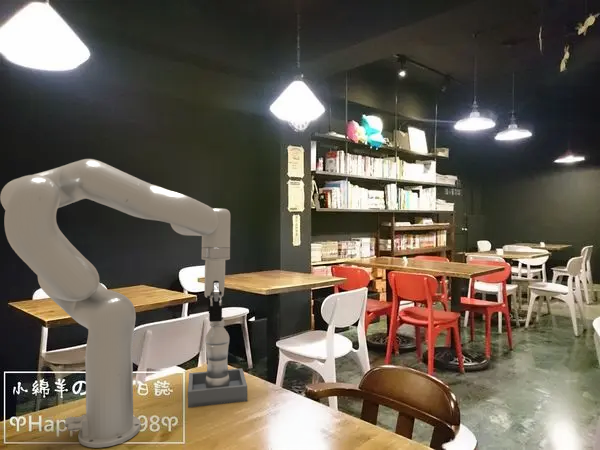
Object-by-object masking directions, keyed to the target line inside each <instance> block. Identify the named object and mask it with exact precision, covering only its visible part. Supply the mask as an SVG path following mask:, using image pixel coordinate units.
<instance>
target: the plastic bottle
mask: <svg viewBox="0 0 600 450" xmlns="http://www.w3.org/2000/svg"><path fill="white" fill-rule="evenodd" d="M209 322H210V321H209ZM209 326H210V329H209V330H208V331H207V333H206V335H205V339H204V341H205V348H206V358H207V366H206V368H207V369H206V372H207V375H206V381H205V386H206V389H207V388H217V387H227V386H229V384H230V379H229V374H228V370H229V366H228V364H229V363H228V355H229V345H230V335H229V333H228V331H227V330H226V328H225V327H224V326H225V318H224V317H223V316H222V321H215V322H210V323H209Z"/></svg>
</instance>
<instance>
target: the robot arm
mask: <svg viewBox="0 0 600 450" xmlns="http://www.w3.org/2000/svg"><path fill="white" fill-rule="evenodd" d="M85 199H87V200H90V201H92V202H93V201H94V202H95V203H97V204H101V205H104V206H107V207H109V208H112V209H114V210H117V211H119V212H121V213H124V214H127V215H129V216H131V217H134V218H139V219H144V220H150V221H159V222H164V223H167V224H170V226H171V229H172V230H173V231H174V232H176V233H177V234H179V235H181V236H195V237H197V236H198V237H201V260H203V261H204V262H205V263H204V297H205V298H208V297H209V299H208V310H207V312H208V315H209V316H208V317H209V318H208V319H209V321H208V322H215V321H222V317H223V305H222V297H224V294H225V283H226V281H225V280H226V261H228V260H230V259H231V212H230V210H228V209H227V208H221V207H220V208H218V207H216V208H215V207H214V208H213V207H211V206H209V205H207V204H205V203H203V202H201V201H199V200H197V199H195V198H193V197H190V196H188V195H186V194H183V193H179V192H177V191H173V190H170V189H167V188H164V187H161V186H159V185H156V184H151V182H147V181H145V180H142V179H140V178H138V177H135V176H134V175H131V174H129V173H127V172H124V171H122V170H120V169H118V168H116V167H113V166H112V165H109V164H108V163H105V162H103V161H100V160H97V159H94V158H84V159H80V160H76V161H74V162H70V163H68V164H65V165H61V166H59V167H54V168H52V169H48V170H45V171H42V172H38V173H34V174H28V175H24V176H21V177H18V178H14V179H12V180H11V181H9V182H7V183H6V184H5V185H4V186H3V188H2V189H1V191H0V204H1V205H2V207H3V209H4V211H5V212H4V225H3V226H4V232H5V236H6V239H7V242H8V243H9V245H10V247H11V248H12V250H13V251H14V252H15V254H16V255H17V256H18V257H19V258H20V259H21V260H22V262H24V263H25V264H26V265H27V266H28V268H29V269H31V271H33V273H34V274H36V276H37V281H38V284H39V286H40V288H41V289H42V291H43V292H44V293H45V294H46V295H47V296H48V297H49V298H50V299H51V300H52V301H53V302H54V303H55V304H56V305H57V306H59V308H61V309H62V310H63V311H64V312H65V313H66V314H67V315H68V316H69V317H71V318H72V319H73V320H74V321H75V322H76V323H78V325H81V326H82V327H84V328H86V329H87V331H88V333H87V334H88V335H87V341H86V348H85V354H84V355H85V358H84V359H85V362H84V364H85V365H84V366H85V414H82V415H81V416H72V417H66V418H65V421H64V427H65V428H67V431H68V432H70V431H71V432H72V431H76V430H79V432H78V442H79V444H81V445H82V446H83V447H87V448H92V449H93V448H95V449H97V448H98V449H100V448H101V449H103V448H109V447H112V446H116V445H120V444H122V443H125V442H126V441H129V440H130V439H132V438H134V437H135V436H136V435H137V434H138V433H139V432H140V430H141V428H142V427H141V424H142V423H141V420H140V419H139V418H138V417H137V416H135V415H134V374H133V372H134V371H133V370H134V369H133V368H134V367H133V365H134V364H133V341H134V333H135V327H136V326H135V325H136V319H137V318H136V317H137V316H136V309H135V305H134V304H133V302H132V300H131V299H130V298H128V297H127V296H126V295H125V294H123V293H120V292H117V291H114V290H111V289H107V288H105V287H104V286H103V284H102V283H100V274H99V273H98V270H97V268H96V267H95V266H94V264H92V263H91V262H90V261H89V260H88V259H87V258H86V257H85V256H84V255H83V254H82V253H81V252H80V251H79V250H78V249H77V248H76V247H75V246H74V245H73V244H72V243H71V242H70V241H69V239H68V238H67V237H66V236H65V235H64V234H63V232H62V230H60V228H59V225H58V223H57V212H58V209H59V208H62V207H65V206H67V205H70V204H72V203H73V204H74V203H76V202H79V201H81V200H85Z"/></svg>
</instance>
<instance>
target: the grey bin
mask: <svg viewBox="0 0 600 450" xmlns="http://www.w3.org/2000/svg"><path fill="white" fill-rule="evenodd" d="M228 374H229V379H230V384H229V386H227V387H217V388H207V389H206V386H205V381H206V375H207V371H199V372H197V371H196V372H189V373H188V386H187V408H197V407H198V408H199V407H205V406H206V407H207V406H215V405H223V404H224V405H225V404H235V403H243V402H248V383H247V380H246V376H245V372H244V369H243V368H231V369H229V368H228Z"/></svg>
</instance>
